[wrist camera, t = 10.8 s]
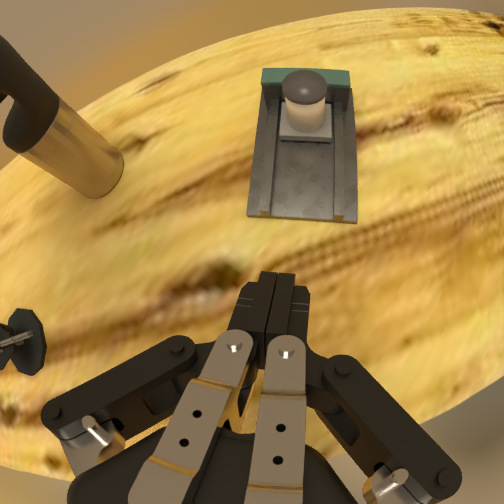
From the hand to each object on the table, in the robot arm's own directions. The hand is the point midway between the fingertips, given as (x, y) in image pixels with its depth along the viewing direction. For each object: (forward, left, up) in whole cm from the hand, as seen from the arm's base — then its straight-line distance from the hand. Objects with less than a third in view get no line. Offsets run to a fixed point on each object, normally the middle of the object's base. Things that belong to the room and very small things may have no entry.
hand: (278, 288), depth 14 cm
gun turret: (-43, -12, -24) cm, 51 cm away
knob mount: (0, +22, -24) cm, 32 cm away
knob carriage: (0, +25, -23) cm, 34 cm away
